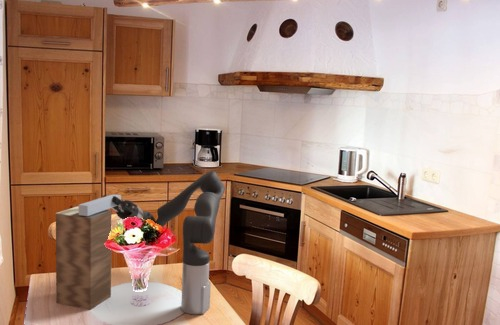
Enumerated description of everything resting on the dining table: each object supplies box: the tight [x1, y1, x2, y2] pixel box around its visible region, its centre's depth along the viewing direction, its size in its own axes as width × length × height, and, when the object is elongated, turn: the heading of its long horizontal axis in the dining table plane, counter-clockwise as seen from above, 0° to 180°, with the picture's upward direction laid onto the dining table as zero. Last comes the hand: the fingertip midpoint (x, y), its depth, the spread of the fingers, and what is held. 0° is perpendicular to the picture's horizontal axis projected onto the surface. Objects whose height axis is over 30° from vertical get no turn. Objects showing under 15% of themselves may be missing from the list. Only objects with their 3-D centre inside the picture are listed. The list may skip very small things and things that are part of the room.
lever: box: [78, 194, 122, 216], centre depth 170 cm, size 4×20×4 cm, turn 162°
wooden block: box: [55, 205, 112, 310], centre depth 170 cm, size 14×12×32 cm
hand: (108, 198), depth 175 cm, fingers closed on lever, 3 cm apart
